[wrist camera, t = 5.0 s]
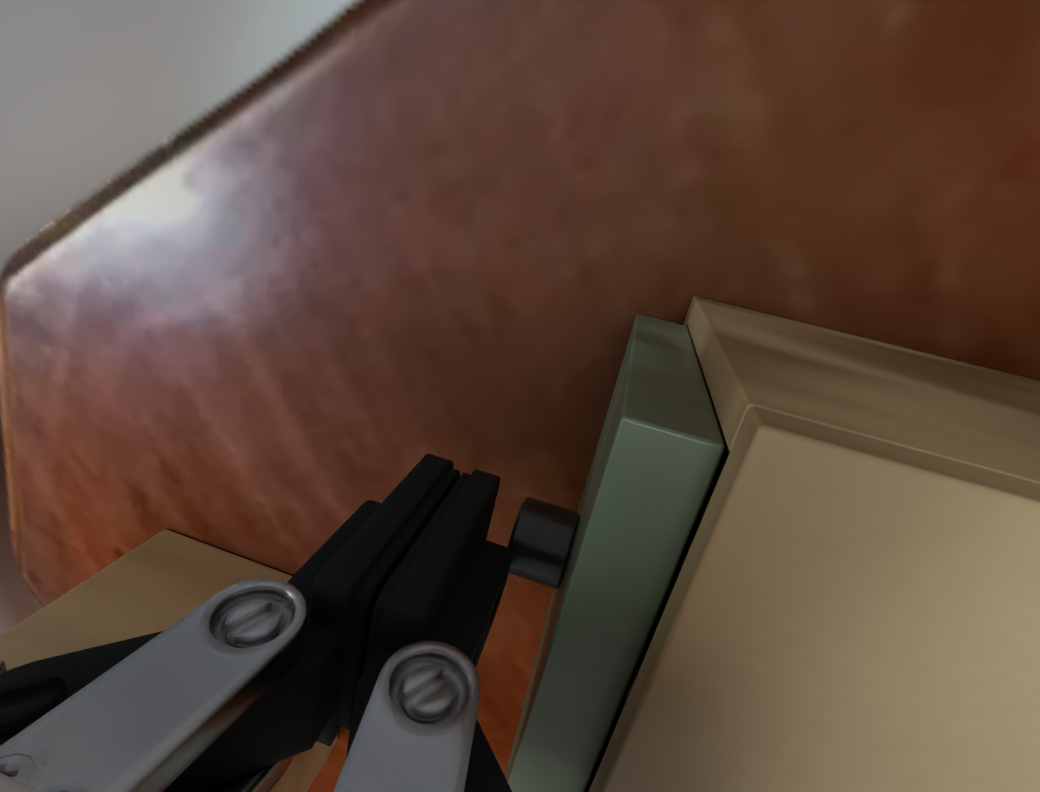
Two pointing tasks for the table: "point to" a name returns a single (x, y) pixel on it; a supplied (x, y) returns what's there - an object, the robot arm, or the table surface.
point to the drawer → (613, 555)
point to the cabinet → (847, 578)
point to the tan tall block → (146, 613)
